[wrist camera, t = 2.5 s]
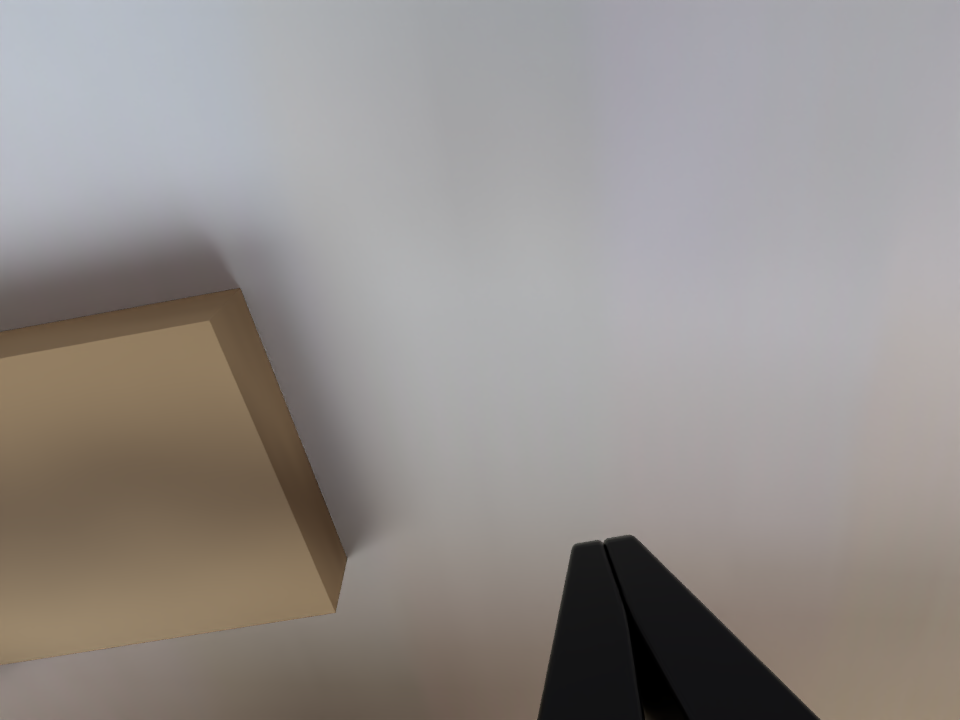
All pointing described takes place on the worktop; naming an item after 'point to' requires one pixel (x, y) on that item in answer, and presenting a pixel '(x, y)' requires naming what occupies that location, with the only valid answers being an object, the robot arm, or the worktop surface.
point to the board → (152, 483)
